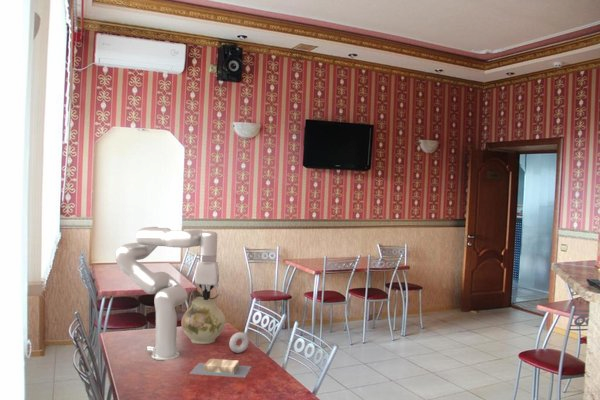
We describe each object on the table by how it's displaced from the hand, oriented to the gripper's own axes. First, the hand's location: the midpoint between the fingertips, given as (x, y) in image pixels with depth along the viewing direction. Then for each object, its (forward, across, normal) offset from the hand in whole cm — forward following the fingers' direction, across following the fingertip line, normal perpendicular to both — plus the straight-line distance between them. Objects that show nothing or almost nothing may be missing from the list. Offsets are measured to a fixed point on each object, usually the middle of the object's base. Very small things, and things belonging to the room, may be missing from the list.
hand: (206, 299), depth 232 cm
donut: (+29, +12, +17) cm, 35 cm away
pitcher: (+29, -11, +32) cm, 45 cm away
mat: (+28, +11, -9) cm, 32 cm away
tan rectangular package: (+26, +4, -9) cm, 28 cm away
